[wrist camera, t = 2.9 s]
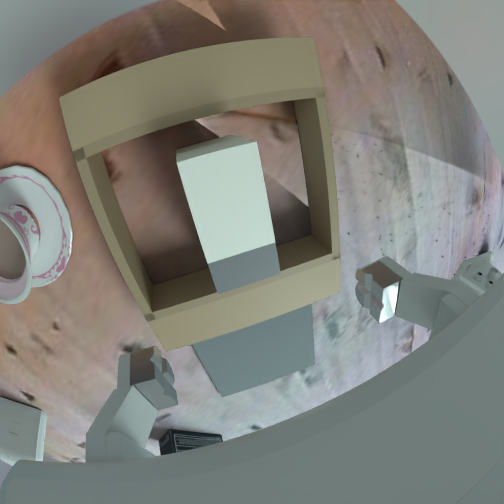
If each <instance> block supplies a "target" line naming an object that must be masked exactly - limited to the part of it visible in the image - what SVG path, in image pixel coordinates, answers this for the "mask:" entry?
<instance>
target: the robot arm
mask: <svg viewBox="0 0 504 504" xmlns="http://www.w3.org/2000/svg"><path fill="white" fill-rule="evenodd" d="M492 264H493V253H492V252H491V251H489V252H486V253H484V254H481V255H478V256H476V257H473V258H470V259H467V260H465V261H463V262H462V263H461V265H460V266H459V268H458V270H457V272H456V274H455V276H454V277H453V279H452V280H448V279H443V278H438V277H433V276H428V275H423V274H418V273H413V274H411V273H410V272H409V271H407V270H406V269H405V268H403V267H402V266H401V265H399V264H398V263H396V262H395V261H394V260H392V259H391V258H390V257H387V256H385V257H383V258H381V259H379V260H377V261H375V262H373V263H371V264H368V265H366V266H364V267H362V268H360V269H358V270H357V271H356V279H357V280H358V283H357V285H356V287H355V290H356V296H357V299H358V301H359V302H360V304H361V305H362V306H363V307H365V308H368V309H370V314H371V315H372V316H373V317H374V318H375V319H376V320H377V321H378V322H379V323H381V322H382V321H384V320H386V319H388V318H390V317H392V316H394V315H395V316H397V317H400V318H402V319H405V320H408V321H410V322H413V323H415V324H418V325H421V326H423V327H426V328H428V329H430V330H431V333H430V336H429V340H428V341H427V342H426V343H424V344H423V345H422V346H420V347H419V348H417V349H416V350H415V351H413V352H412V353H410V354H409V355H407V356H406V357H404V358H403V359H401V360H400V361H398V362H397V363H395V364H394V365H392V366H391V367H389V368H387V369H386V370H384V371H383V372H381V373H379V374H378V375H376V376H374V377H373V378H371V379H369V380H367V381H366V382H364V383H362V384H360V385H359V386H357V387H355V388H353V389H351V390H349V391H348V392H346V393H344V394H342V395H340V396H338V397H336V398H334V399H332V400H330V401H328V402H326V403H324V404H322V405H319V406H317V407H315V408H313V409H311V410H309V411H306V412H304V413H302V414H299V415H297V416H295V417H292V418H290V419H287V420H285V421H282V422H280V423H277V424H275V425H272V426H269V427H267V428H264V429H261V430H258V431H255V432H252V433H249V434H246V435H243V436H240V437H237V438H233V439H230V440H227V441H223V442H220V443H216V444H212V445H208V446H204V447H200V448H196V449H192V450H187V451H182V452H177V453H172V454H167V455H161V456H155V455H154V454H152V453H151V452H149V451H147V450H146V449H144V448H145V445H146V443H147V440H148V437H149V435H150V432H151V430H152V427H153V424H154V422H155V419H156V417H157V414H158V412H159V411H158V410H161V409H165V408H169V407H172V406H176V405H178V401H177V395H176V390H175V389H174V388H173V387H172V385H173V383H174V382H175V381H174V375H173V372H172V369H171V367H170V365H169V363H168V361H167V360H166V359H164V358H162V357H161V351H160V350H159V349H158V347H157V346H152V347H149V348H145V349H141V350H138V351H134V352H131V353H127V354H123V355H120V357H119V363H118V380H117V389H115V390H114V391H113V392H112V394H111V395H110V397H109V398H108V400H107V401H106V403H105V405H104V406H103V408H102V409H101V411H100V412H99V414H98V416H97V417H96V419H95V420H94V422H93V424H92V425H91V427H90V429H89V430H88V432H87V433H86V463H65V462H44V461H34V460H25V459H21V460H18V461H17V462H16V463H15V464H14V465H13V467H12V468H11V469H10V471H9V473H8V474H7V476H6V477H5V479H4V480H3V482H2V485H1V489H0V504H504V273H503V275H502V273H501V272H500V271H499V270H497V269H496V268H495V267H494V266H492Z"/></svg>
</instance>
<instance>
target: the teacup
mask: <svg viewBox="0 0 504 504" xmlns="http://www.w3.org/2000/svg"><path fill="white" fill-rule="evenodd" d="M16 205H22V206H25V207H27V208H28V209H30V210H31V211H32V213H33V214H34V215H35V217H36V219H37V221H38V223H39V227H40V240H39V234H38V229H37V226H36V224H35V221H34V220H33V218H32V216H31V215H30V214H29V213H28V212H27V211H26V210H25V209H23V208H22V207H20V206H16ZM72 240H73V231H72V225H71V220H70V214H69V211H68V209H67V207H66V205H65V202H64V200H63V198H62V195H61V193H60V192H59V191H58V190H57V189H56V187H55V186H54V185H53V184H52V182H51V181H50V180H49V178H47V177H46V176H44V175H43V174H41V173H40V172H38V171H37V170H35V169H34V168H30V167H25V166H20V165H15V166H11V167H7V168H4V169H1V170H0V302H1V303H5V304H17V303H20V302H22V301H23V300H25V299H26V298H27V296H28V295H29V293H30V290H31V287H42V286H44V285H47V284H49V283H51V282H53V281H55V280H56V279H57V278H58V276H59V275H60V274H61V273H62V272H63V271H64V270H65V268H66V265H67V263H68V260H69V258H70V255H71V253H72Z"/></svg>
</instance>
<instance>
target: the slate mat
mask: <svg viewBox="0 0 504 504" xmlns="http://www.w3.org/2000/svg"><path fill="white" fill-rule="evenodd" d="M192 346H193V347H194V349H195V351H196V353H197V355H198V357H199V358H200V360H201V362H202V364H203V365H204V367H205V369H206V371H207V372H208V374H209V376H210V378H211V379H212V381H213V383H214V384H215V386H216V388H217V389H218V391H219V393H220V394H221V396H222V397H224V396H227V395H231V394H234V393H237V392H241V391H244V390H247V389H250V388H253V387H256V386H259V385H262V384H265V383H267V382H270V381H273V380H276V379H278V378H281V377H284V376H286V375H289V374H292V373H294V372H297V371H299V370H302V369H304V368H306V367H309V366H311V365H314V364H315V358H314V338H313V322H312V307H311V304H309V305H306V306H303V307H301V308H298V309H295V310H293V311H290V312H287V313H285V314H282V315H279V316H277V317H274V318H271V319H268V320H265V321H262V322H260V323H257V324H254V325H251V326H248V327H245V328H242V329H239V330H236V331H233V332H230V333H227V334H224V335H221V336H217V337H214V338H211V339H208V340H204V341H201V342H198V343H194V344H192Z"/></svg>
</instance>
